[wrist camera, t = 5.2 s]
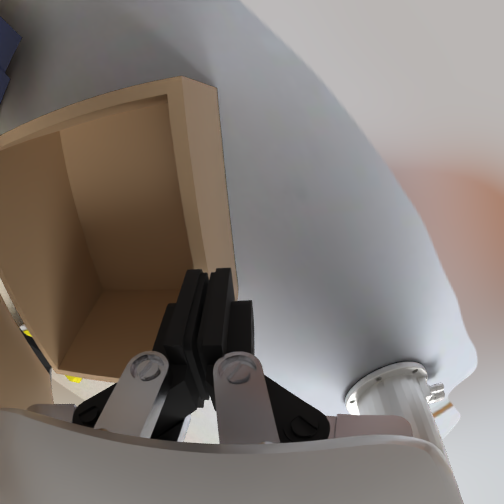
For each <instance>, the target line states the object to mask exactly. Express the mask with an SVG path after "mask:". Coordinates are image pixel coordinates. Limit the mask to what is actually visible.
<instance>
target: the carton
mask: <svg viewBox="0 0 504 504" xmlns="http://www.w3.org/2000/svg"><path fill="white" fill-rule="evenodd" d="M230 267H231V271H232V279H233V287H234V295H235V301H237V299H238V282H237V273H236V265H235V256H234V248H233V239H232V230H231V222H230V213H229V204H228V194H227V185H226V176H225V166H224V156H223V146H222V136H221V126H220V116H219V105H218V94H217V88H215V87H212V86H210V85H207V84H204V83H201V82H199V81H196V80H193V79H190V78H187V77H184V76H177V77H172V78H167V79H161V80H157V81H152V82H147V83H143V84H139V85H135V86H131V87H127V88H123V89H119V90H115V91H112V92H108V93H105V94H102V95H98V96H95V97H92V98H89V99H86V100H83V101H80V102H77V103H74V104H71V105H69V106H66V107H63V108H61V109H58V110H55V111H53V112H50V113H48V114H45V115H43V116H41V117H38V118H36V119H34V120H31V121H29V122H27V123H25V124H23V125H20V126H18V127H16V128H14V129H12V130H10V131H8V132H6V133H4V134H2V135H0V278H1V280H2V282H3V284H4V286H5V288H6V290H7V292H8V294H9V296H10V298H11V300H12V302H13V304H14V306H15V308H16V310H17V312H18V313H19V315H20V317H21V319H22V321H23V322H24V324H25V326H26V328H27V329H28V331H29V333H30V334H31V336H32V338H33V339H34V341H35V342H36V344H37V346H38V347H39V349H40V350H41V352H42V353H43V355H44V356H45V358H46V359H47V361H48V362H49V364H50V365H51V367H52V368H53V369H54V371H55V372H56V373H57V374H63V375H68V376H73V377H79V378H85V379H92V380H99V381H106V382H114V383H117V382H118V380H119V379H120V377H121V375H122V373H123V371H124V369H125V368H126V366H127V364H128V362H129V361H130V360H131V359H132V358H133V357H134V356H136V355H137V354H139V353H142V352H146V351H152V349H153V346H154V343H155V340H156V337H157V334H158V331H159V328H160V325H161V322H162V319H163V316H164V313H165V310H166V307H167V305H168V304H169V303H176V302H177V299H178V296H179V293H180V290H181V286H182V283H183V280H184V277H185V274H186V271H187V270H190V269H202V271H203V273H205V272H207V273H208V277H209V279H210V274H211V272H215V271H216V268H230Z"/></svg>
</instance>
